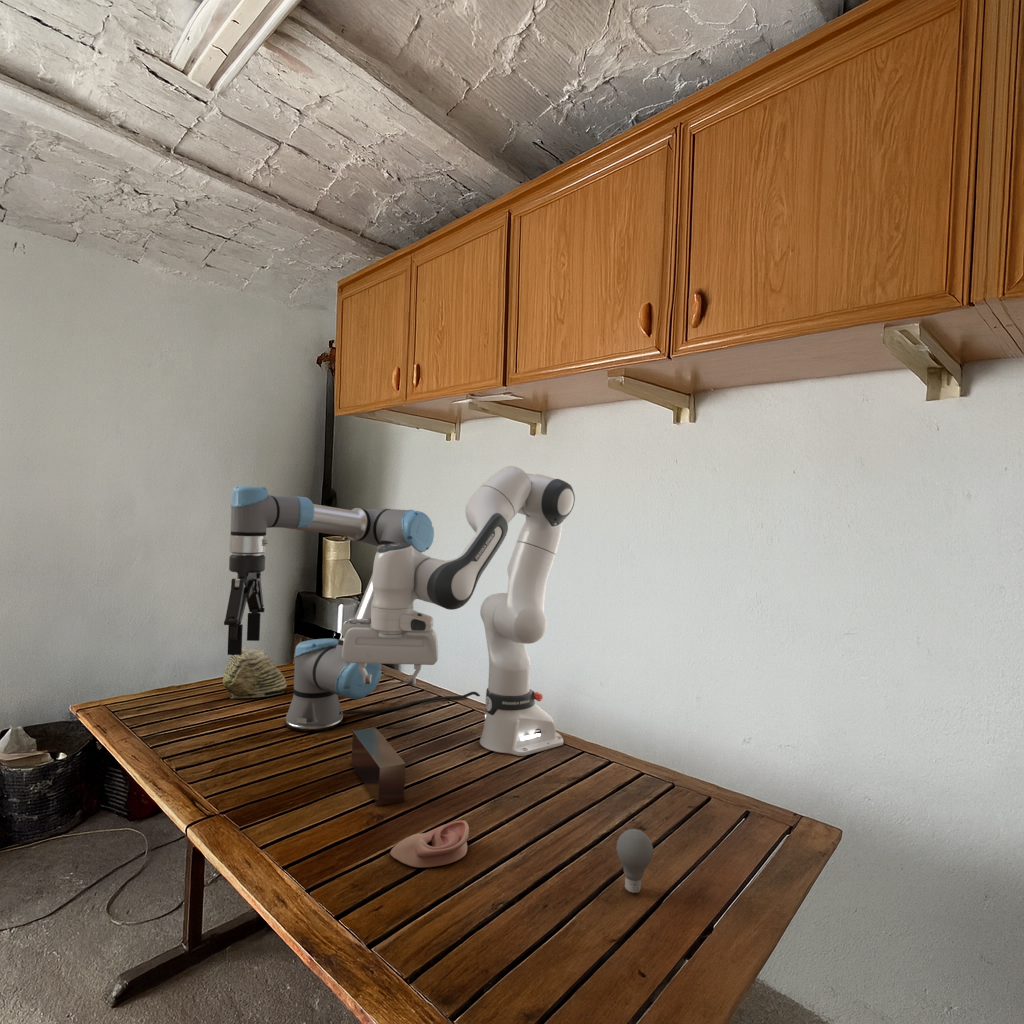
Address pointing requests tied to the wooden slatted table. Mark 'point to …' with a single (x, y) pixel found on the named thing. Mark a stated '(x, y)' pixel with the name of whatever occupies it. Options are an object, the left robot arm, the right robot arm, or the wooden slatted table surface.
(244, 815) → the wooden slatted table surface
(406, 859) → the anatomical model
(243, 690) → the fossil
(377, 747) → the bar
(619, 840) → the light bulb
